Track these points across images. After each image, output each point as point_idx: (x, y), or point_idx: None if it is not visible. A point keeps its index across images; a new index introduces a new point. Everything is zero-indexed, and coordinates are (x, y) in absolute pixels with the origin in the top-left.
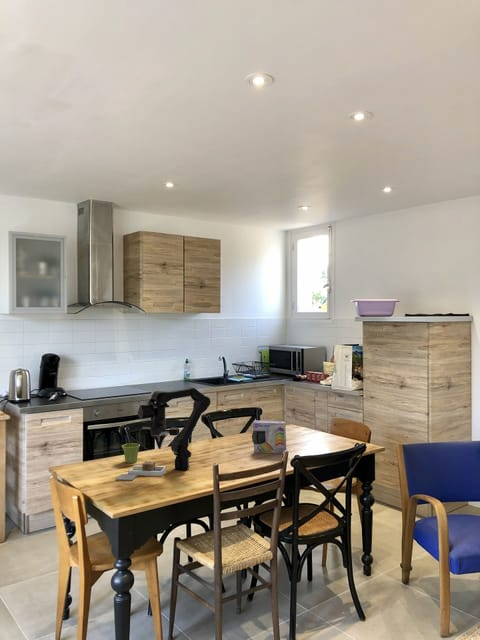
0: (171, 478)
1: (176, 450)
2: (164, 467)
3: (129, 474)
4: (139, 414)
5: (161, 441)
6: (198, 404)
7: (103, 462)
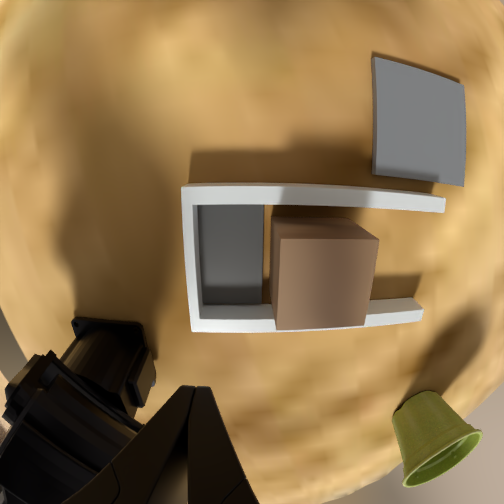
0: (103, 137)
1: (52, 395)
2: (194, 305)
3: (424, 177)
4: None
5: (102, 483)
6: None
7: (499, 366)
